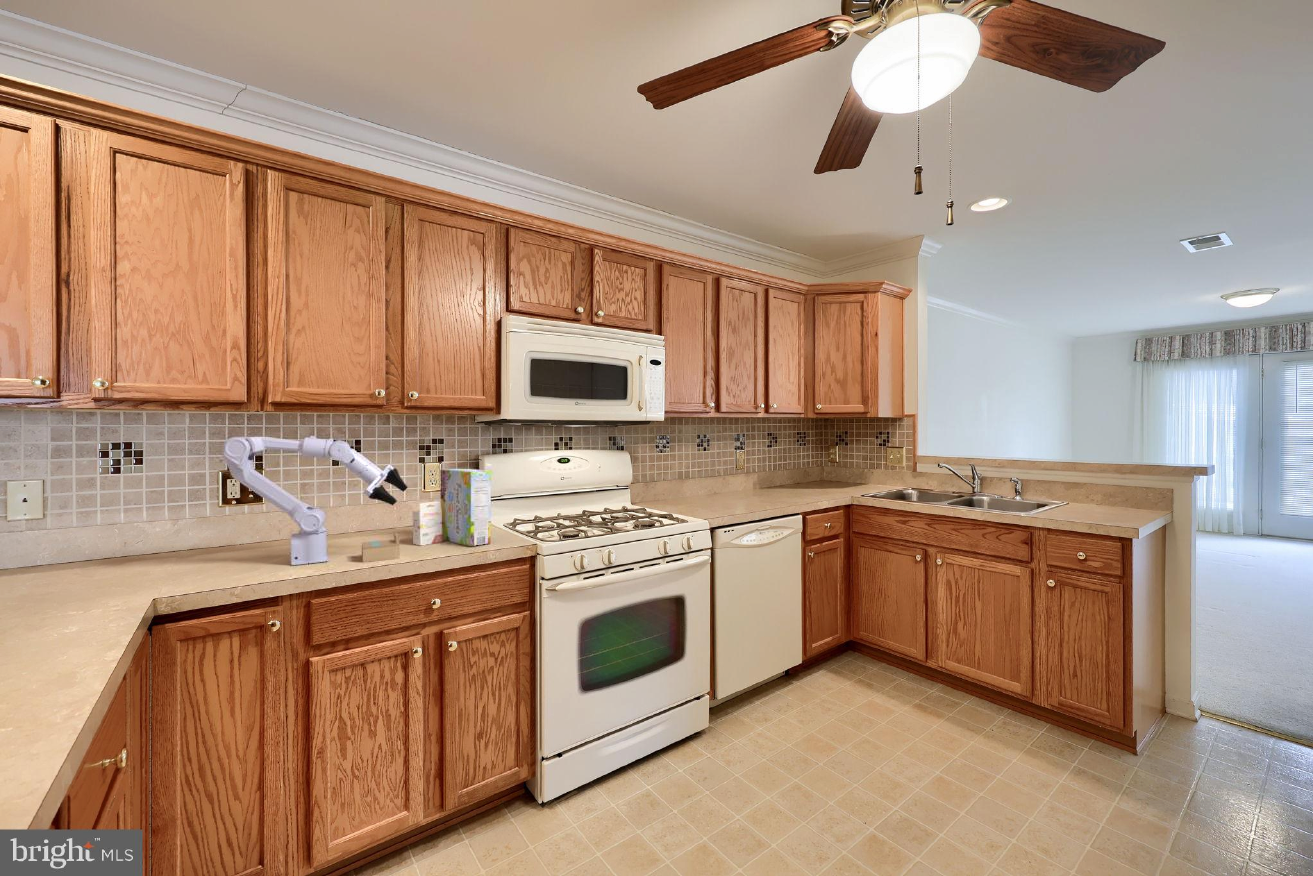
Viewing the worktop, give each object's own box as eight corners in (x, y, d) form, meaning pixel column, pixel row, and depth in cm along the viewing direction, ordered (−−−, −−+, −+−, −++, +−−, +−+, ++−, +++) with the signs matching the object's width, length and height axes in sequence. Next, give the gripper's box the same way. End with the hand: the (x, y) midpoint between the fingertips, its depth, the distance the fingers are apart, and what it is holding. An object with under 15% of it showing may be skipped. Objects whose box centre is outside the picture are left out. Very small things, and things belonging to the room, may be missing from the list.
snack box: (493, 543, 195) (492, 470, 194) (470, 548, 188) (469, 471, 188) (461, 536, 209) (460, 467, 209) (438, 539, 203) (438, 468, 202)
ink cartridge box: (435, 540, 201) (434, 499, 201) (442, 542, 198) (442, 500, 198) (412, 544, 194) (411, 502, 194) (420, 546, 191) (419, 503, 191)
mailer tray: (363, 562, 168) (362, 549, 168) (361, 557, 175) (361, 544, 175) (399, 558, 173) (399, 545, 173) (396, 553, 180) (396, 541, 180)
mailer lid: (362, 549, 168) (362, 540, 168) (361, 544, 175) (361, 535, 175) (399, 545, 173) (399, 536, 173) (396, 540, 180) (396, 532, 180)
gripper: (359, 474, 168) (396, 502, 172) (382, 450, 181) (417, 476, 185) (347, 487, 171) (384, 514, 175) (371, 462, 183) (405, 488, 188)
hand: (400, 496), depth 180 cm, fingers open, 7 cm apart
